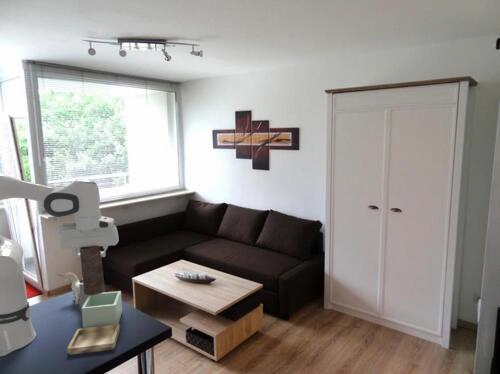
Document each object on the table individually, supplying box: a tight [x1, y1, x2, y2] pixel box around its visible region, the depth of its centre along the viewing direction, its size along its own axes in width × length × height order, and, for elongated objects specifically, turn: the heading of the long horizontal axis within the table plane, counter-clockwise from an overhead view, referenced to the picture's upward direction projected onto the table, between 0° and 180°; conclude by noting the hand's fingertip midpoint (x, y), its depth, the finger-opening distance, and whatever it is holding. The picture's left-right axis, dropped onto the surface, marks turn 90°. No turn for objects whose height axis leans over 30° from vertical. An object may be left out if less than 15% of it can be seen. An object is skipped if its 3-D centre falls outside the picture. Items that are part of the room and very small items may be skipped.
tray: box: [66, 323, 121, 356], centre depth 130 cm, size 16×13×2 cm
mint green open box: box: [81, 290, 123, 328], centre depth 144 cm, size 13×13×10 cm
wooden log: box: [79, 245, 106, 296], centre depth 129 cm, size 8×7×20 cm
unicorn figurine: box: [56, 272, 82, 306], centre depth 161 cm, size 7×20×13 cm, turn 61°
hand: (91, 257), depth 128 cm, fingers closed on wooden log, 7 cm apart
